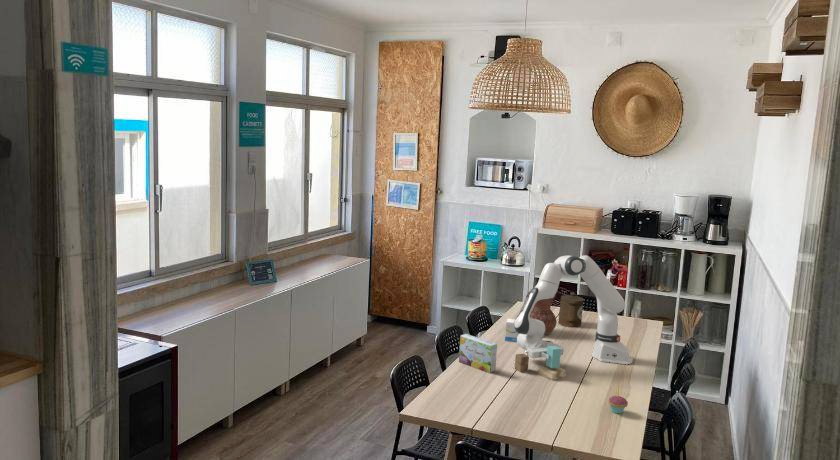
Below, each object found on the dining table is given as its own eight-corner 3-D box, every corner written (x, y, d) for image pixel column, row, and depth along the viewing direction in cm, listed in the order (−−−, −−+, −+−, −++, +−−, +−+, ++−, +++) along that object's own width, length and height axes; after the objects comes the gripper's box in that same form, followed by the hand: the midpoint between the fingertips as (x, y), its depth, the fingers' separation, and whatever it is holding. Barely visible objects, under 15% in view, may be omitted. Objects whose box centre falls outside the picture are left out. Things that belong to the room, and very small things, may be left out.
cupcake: (604, 407, 308) (607, 382, 306) (622, 407, 309) (625, 383, 307) (611, 415, 299) (614, 390, 298) (629, 415, 300) (632, 390, 298)
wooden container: (583, 328, 435) (586, 295, 432) (560, 326, 435) (563, 294, 432) (578, 321, 450) (581, 290, 447) (556, 320, 450) (559, 288, 447)
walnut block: (522, 367, 354) (523, 353, 353) (527, 371, 350) (529, 356, 349) (514, 368, 352) (515, 354, 351) (519, 372, 348) (521, 357, 347)
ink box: (518, 342, 398) (520, 323, 396) (504, 340, 400) (506, 321, 398) (519, 338, 406) (521, 319, 405) (505, 336, 408) (507, 318, 406)
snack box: (457, 362, 357) (459, 335, 355) (464, 360, 362) (466, 333, 359) (489, 373, 343) (491, 345, 341) (496, 371, 347) (498, 343, 345)
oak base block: (551, 371, 353) (551, 364, 352) (565, 377, 345) (566, 370, 344) (537, 374, 347) (538, 367, 346) (551, 380, 339) (552, 373, 338)
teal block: (553, 364, 348) (555, 345, 347) (559, 367, 344) (561, 348, 342) (545, 365, 346) (547, 346, 345) (551, 368, 342) (553, 349, 340)
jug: (560, 332, 423) (563, 294, 419) (547, 340, 405) (551, 300, 402) (528, 325, 435) (531, 288, 431) (514, 332, 417) (517, 293, 413)
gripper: (522, 344, 350) (538, 352, 338) (554, 340, 360) (570, 348, 347) (521, 355, 351) (537, 364, 339) (553, 351, 360) (569, 360, 348)
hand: (554, 356), depth 343 cm, fingers closed on teal block, 5 cm apart
